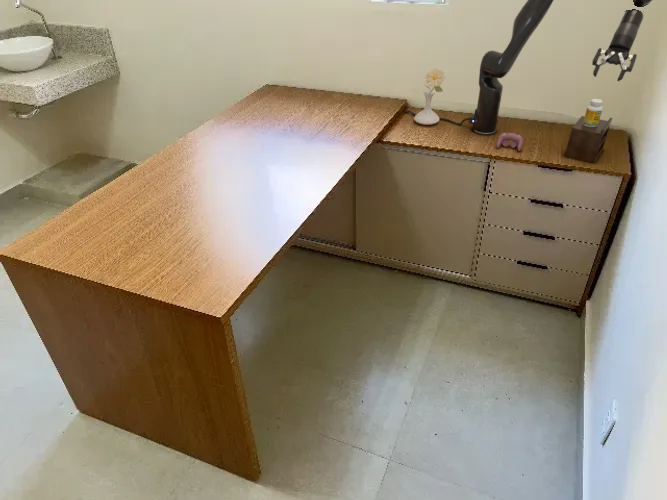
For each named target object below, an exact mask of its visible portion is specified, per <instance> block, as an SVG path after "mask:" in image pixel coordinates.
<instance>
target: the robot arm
mask: <svg viewBox="0 0 667 500" xmlns="http://www.w3.org/2000/svg"><path fill="white" fill-rule="evenodd" d="M553 2H554V0H526V1H525V3H524V5H523V6H522V7H521V9H520V10H519V11H518V13H517V15H516V16H515V18H514V20H513V23H512V30H511V31H512V32H511V38H510V41H509V43H508V45H507V46H506V48H505V49H504V50H503V52H499V51H496V50H488V51H487V52H486V53H484V55H483V56H482V59H481V61H480V65H479V75H478V86H479V91H478V98H477V104H476V105H477V106H476V108H475V110H474V114H472V115H471V116H470V117H468V118H467V117H466V118H464V119H462V120H461V122H459V123H457V122H455V121H453V120H451V119H448V118H445V117H439V121H440V120H441V121H446V122H449V123H451V124H453V125H456V126H462V125H463V124H464V122H466V121H469V122H468V123H469V124H472V127H471V131H472V132H474V133H476V134H479V135H484V136H486V135H487V136H489V135H493V134H494V135H495V133H496V132H497V125H498V123H499V120H498V118H499V113H500V107H501V102H502V96H503V90H504V89H503V88H504V86H503V84H502V83H501V82H500V81H499V79H502V78H504V77H506V76H507V75H508V73H510V71H511V70H512V68H513V66H514V64H515V62H516V61H517V60H518V57H519V56H520V53H521V52H522V51H523V49H524V47H525V45H526V44H527V42H528V41H529V40H530V38H531V36H532V35H533V34H534V32H535V31H536V29H538V27H539V25H540V24H541V23H542V21H543V19H544V18H545V16H546V15H547V13H548V12H549V9H550V8H551V7H552V4H553ZM633 2H634V5H635V6H637V7H644V6H646V5H647V6H648V5H650V3H651V2H653V0H633ZM647 6H646V7H647ZM624 12H625V13H623V16H622V17H621V20H620V22H619V24H618V26H617V28H616V30H615V32H614V34H613V37H612V39H611V41H610V43H609V46H608V48H607V49H606V50H604V49H602V48H601V47H599V48H598V49H597V51H596V53H595V55H594V57H593V59H592V61H591V64H592V66H595V67H594V68H593V72H592V75H593V77H594V78H596V77H597V75H598V73H599V70H600V68H601V67H602V66H604V65H606V64H608V65H615V66H619V67H620V69H621V71H620V73H619V75H618V77H617V82H620V81H622V80H623V79H624V77H625V75H626V73H631V72H632V71H633V69H634V65H635V63H636V61H637V57H638V55H637V54H636V53H633V54H630V51H631V49H632V47H633V45H634V42H635V40H636V38H637V35H638V32H639V29H640V27H641V25H642V23H643V20H644V12H643V13H642V12H641V11H639V10H636V9H632V10H626V11H625V10H624ZM603 55H604V56H603ZM602 56H603V57H602ZM600 57H602V58H601V59H600V60H599V58H600ZM628 59H629V62H630V63H629V66H627V65H626V63H625V61H626V60H628ZM598 60H599V61H598ZM404 113H405V114H408V113H410V114H411V115H413V116H414V117H415V116H416V115H417V114H418V113H414V111H412V110H406V111H405V112H404Z"/></svg>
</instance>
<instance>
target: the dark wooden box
mask: <svg viewBox="0 0 667 500" xmlns="http://www.w3.org/2000/svg"><path fill="white" fill-rule="evenodd" d="M584 117H585V115H581V117H579V118H578V120H577V121H576V122H575V124H574V125H573V126H572V127H571V130H570V134H569V136H568V137H569V138H568V142H567V144H566V145H567V146H566V149H565V153H564V157H565V158H570V159H574V160H577V161H583V162H586V163H587V162H588V163H591V164H594V163H595V162H596V161H597V159H598V158H599V156H600V154H602V151H603V150H604V147H605V143H606V140H607V137H608V134H609V131H610V127H611V124H612V121H613V117H609V119H608V120H605V119H601V118H600V119H599V123H598V126H596V127H587V126H584V125H583V121H584Z"/></svg>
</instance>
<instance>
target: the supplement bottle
mask: <svg viewBox="0 0 667 500" xmlns="http://www.w3.org/2000/svg"><path fill="white" fill-rule="evenodd" d="M603 103H604V101H603V100H602V99H600V98H592V99H591V100H590V104H588V105H587V106H586V110H585V114H584V121H583V125H584V126H587V127H596V126H598V123H599V119H600V120H601V116H602V112H603V106H602V105H603Z"/></svg>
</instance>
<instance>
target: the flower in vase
mask: <svg viewBox="0 0 667 500" xmlns="http://www.w3.org/2000/svg"><path fill="white" fill-rule="evenodd" d="M445 77H446V76H445V74H444V71H443V70H442V69H440V68H438V67H436V68H432V69H429V70H428V72H427V73H426V75H425V83H426V84H425V83H424V86H425V87H426V88H427V89H429V90H424V91H423V95H424V99H425V107H424V108H423V109H422V110H421V111H419V112H418V113H416V114H417V115H416V116H415V115H414V117H413V118H414V119H413V120H414V121H415V122H416V123H417V124H420V125H424V126H430V125H435V124H438V123H439V121H440V120H439V118H440V117H439V114H437V113H436V112H435V111H433V109H432V107H431V106H432V105H431V104H432V100H433V99H432V98H433V97H434V95H435V93H443V92H444V90H443V88H442V87H441V85H442V83H443V82H444V80H445ZM431 88H432V89H431ZM433 90H435V91H433Z"/></svg>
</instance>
